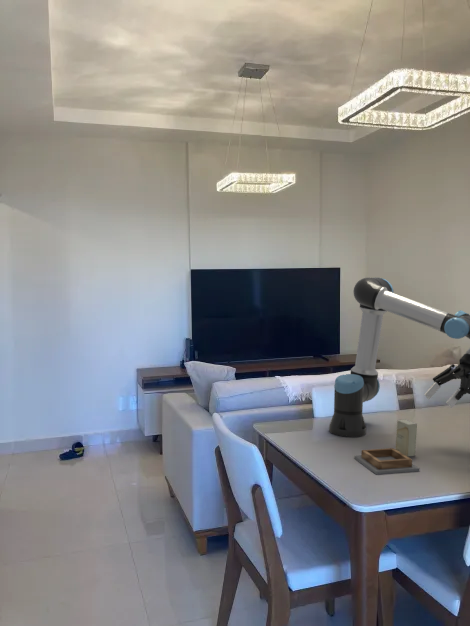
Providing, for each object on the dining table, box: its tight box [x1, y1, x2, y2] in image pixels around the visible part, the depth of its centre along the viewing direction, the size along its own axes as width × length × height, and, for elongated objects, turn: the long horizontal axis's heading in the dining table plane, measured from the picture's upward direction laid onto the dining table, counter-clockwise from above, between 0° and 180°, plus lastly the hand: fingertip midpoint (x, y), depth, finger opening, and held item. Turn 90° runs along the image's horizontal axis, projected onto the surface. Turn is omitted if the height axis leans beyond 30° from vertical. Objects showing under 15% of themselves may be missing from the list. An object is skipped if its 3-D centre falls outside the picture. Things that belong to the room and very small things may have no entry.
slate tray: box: [353, 454, 420, 475], centre depth 188 cm, size 16×16×1 cm
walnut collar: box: [360, 447, 413, 469], centre depth 188 cm, size 12×12×2 cm
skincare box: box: [395, 418, 418, 458], centre depth 199 cm, size 6×4×12 cm
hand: (437, 400), depth 201 cm, fingers open, 13 cm apart
